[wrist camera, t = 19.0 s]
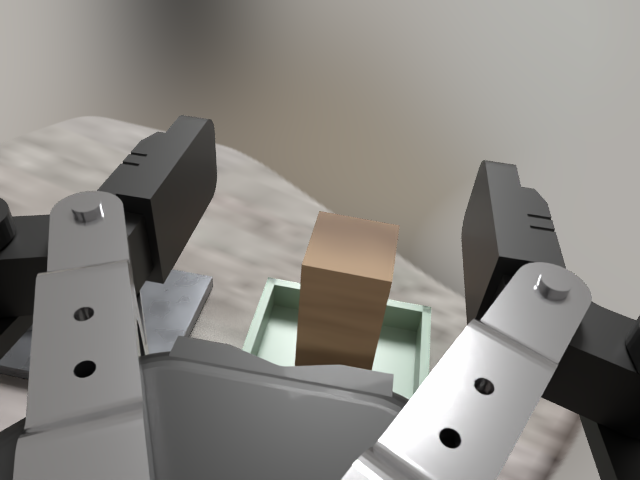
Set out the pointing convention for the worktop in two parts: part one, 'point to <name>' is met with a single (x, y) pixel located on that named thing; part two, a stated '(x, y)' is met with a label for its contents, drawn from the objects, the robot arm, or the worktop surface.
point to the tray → (392, 350)
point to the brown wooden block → (344, 290)
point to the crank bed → (159, 314)
